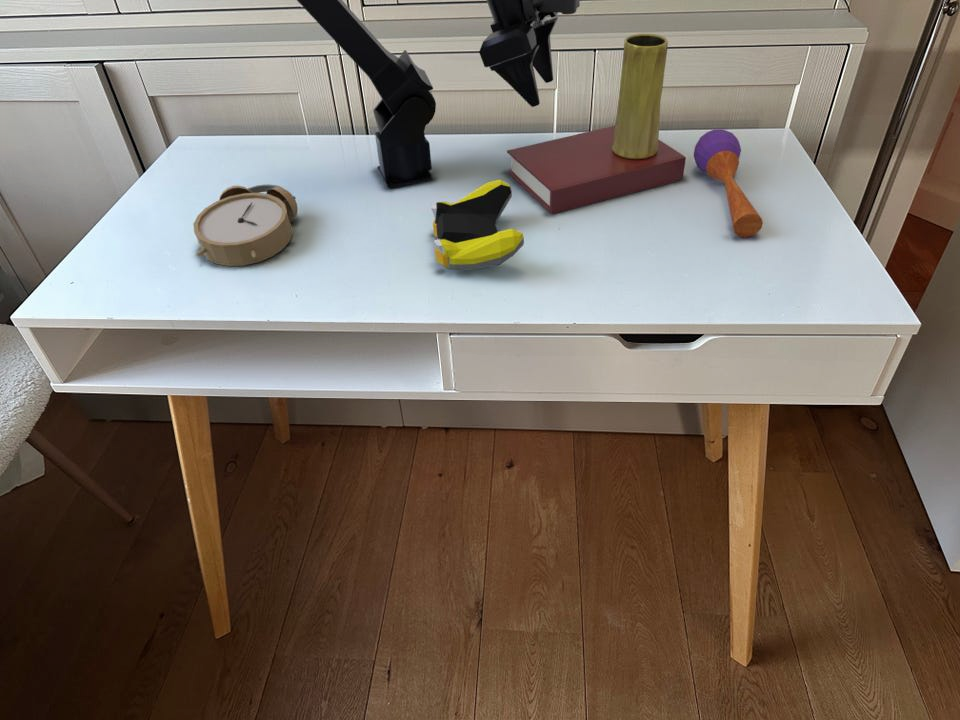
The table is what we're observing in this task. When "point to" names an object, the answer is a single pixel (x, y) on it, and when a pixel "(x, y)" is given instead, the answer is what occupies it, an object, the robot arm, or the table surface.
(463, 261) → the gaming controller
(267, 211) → the alarm clock
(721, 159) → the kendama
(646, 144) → the vase
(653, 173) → the book
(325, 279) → the table surface
